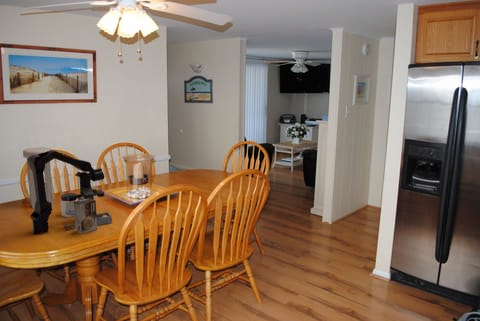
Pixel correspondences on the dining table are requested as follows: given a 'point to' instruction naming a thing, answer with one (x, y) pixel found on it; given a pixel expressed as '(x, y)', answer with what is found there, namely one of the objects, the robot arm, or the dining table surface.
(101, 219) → the grey open box
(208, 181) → the dining table surface
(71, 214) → the lever
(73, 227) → the catapult base
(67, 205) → the jar
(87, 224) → the coffee box
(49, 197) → the stool
